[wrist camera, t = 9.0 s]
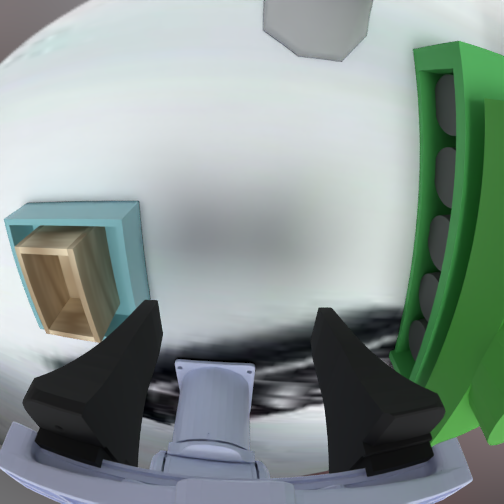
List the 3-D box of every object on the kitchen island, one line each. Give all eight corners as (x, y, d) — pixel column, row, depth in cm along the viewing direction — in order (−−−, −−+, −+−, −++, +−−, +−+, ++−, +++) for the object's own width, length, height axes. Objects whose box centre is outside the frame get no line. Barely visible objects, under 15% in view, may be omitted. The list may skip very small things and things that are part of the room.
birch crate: (103, 217, 21) (72, 249, 16) (120, 303, 24) (101, 342, 20) (48, 218, 20) (14, 246, 16) (69, 298, 24) (46, 333, 20)
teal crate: (153, 318, 26) (144, 345, 23) (55, 306, 25) (40, 328, 22) (138, 201, 21) (121, 219, 18) (27, 202, 20) (3, 219, 17)
